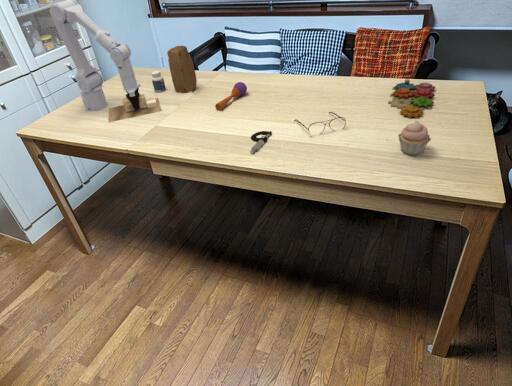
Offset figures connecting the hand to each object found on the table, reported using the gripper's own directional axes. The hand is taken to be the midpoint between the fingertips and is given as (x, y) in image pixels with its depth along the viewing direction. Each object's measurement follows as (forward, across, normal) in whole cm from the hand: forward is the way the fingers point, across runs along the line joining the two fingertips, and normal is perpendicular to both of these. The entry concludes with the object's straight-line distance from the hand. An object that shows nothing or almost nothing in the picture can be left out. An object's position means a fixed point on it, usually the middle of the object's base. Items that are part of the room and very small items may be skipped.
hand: (137, 106), depth 160 cm
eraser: (+1, 0, -6) cm, 6 cm away
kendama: (+2, -12, -40) cm, 41 cm away
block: (+2, +12, -24) cm, 27 cm away
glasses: (+3, -49, -63) cm, 80 cm away
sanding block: (+1, 0, 0) cm, 1 cm away
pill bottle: (+2, +17, -12) cm, 21 cm away
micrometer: (+3, -51, -38) cm, 63 cm away
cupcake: (+2, -79, -80) cm, 112 cm away
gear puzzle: (+3, -48, -102) cm, 113 cm away
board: (+2, 0, +1) cm, 2 cm away
